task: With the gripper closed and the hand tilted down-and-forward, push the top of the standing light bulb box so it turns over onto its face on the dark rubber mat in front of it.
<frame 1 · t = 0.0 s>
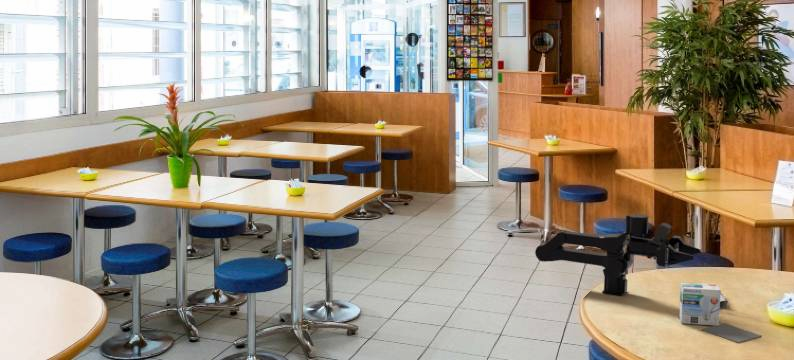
hand: (697, 254, 242), 17 cm above the table, tool horizontal, fingers open, 9 cm apart
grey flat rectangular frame: (708, 303, 249), on the table
rubber mat: (731, 333, 220), on the table
light bulb box: (698, 322, 229), on the table, touching rubber mat
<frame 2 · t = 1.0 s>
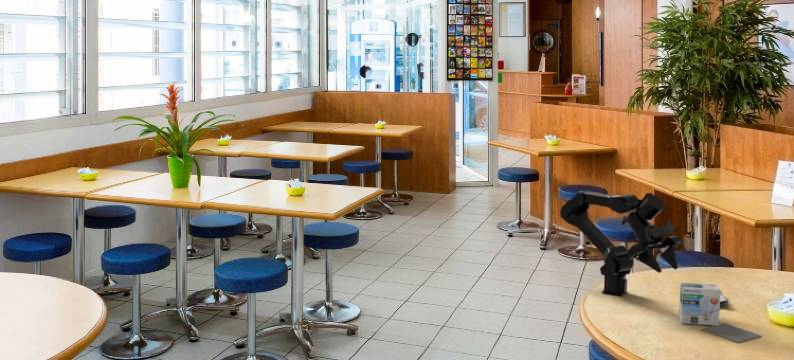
hand: (668, 270, 238), 13 cm above the table, tool tilted 45°, fingers open, 7 cm apart
nothing on the table moved.
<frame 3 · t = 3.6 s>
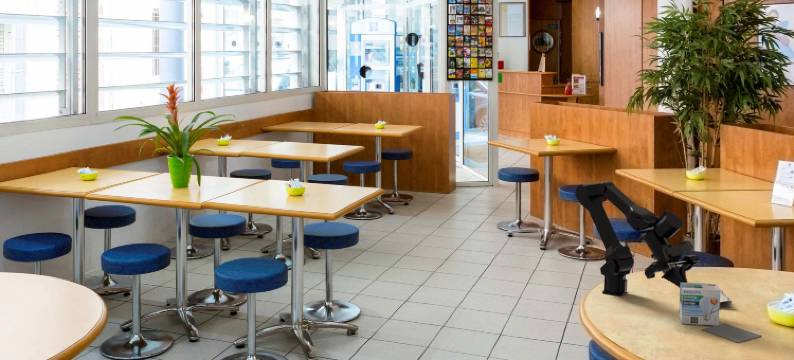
hand: (687, 290, 232), 8 cm above the table, tool tilted 45°, fingers closed
light bulb box: (698, 321, 229), on the table, touching gripper, rubber mat
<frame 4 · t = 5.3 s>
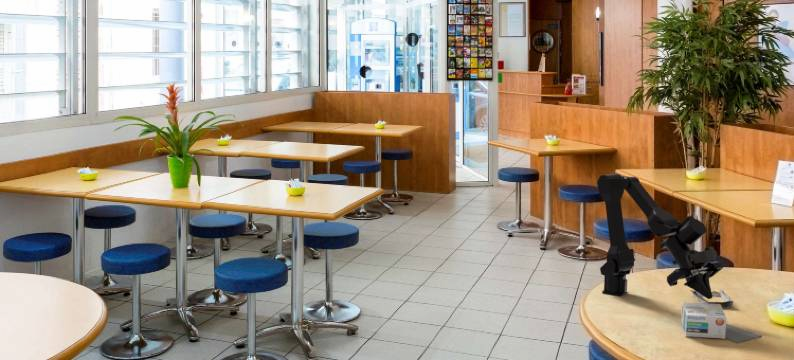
hand: (710, 298, 225), 8 cm above the table, tool tilted 45°, fingers closed
light bulb box: (700, 312, 226), point 4 cm above the table, touching rubber mat
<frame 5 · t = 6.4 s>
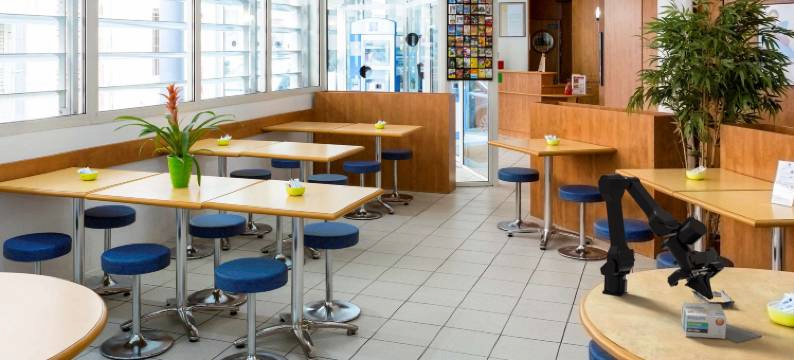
hand: (711, 299, 225), 8 cm above the table, tool tilted 45°, fingers closed
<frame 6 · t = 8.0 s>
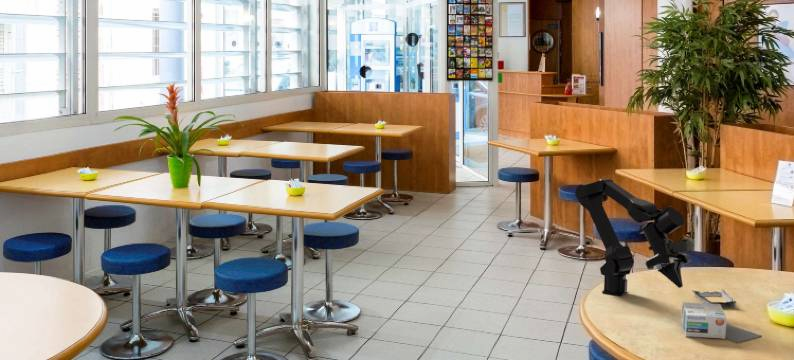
hand: (680, 287, 234), 9 cm above the table, tool tilted 35°, fingers closed
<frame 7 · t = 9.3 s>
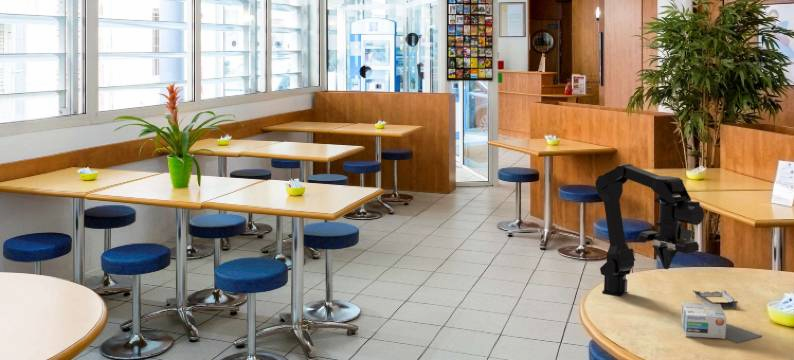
hand: (666, 268, 238), 13 cm above the table, tool pointing down, fingers closed
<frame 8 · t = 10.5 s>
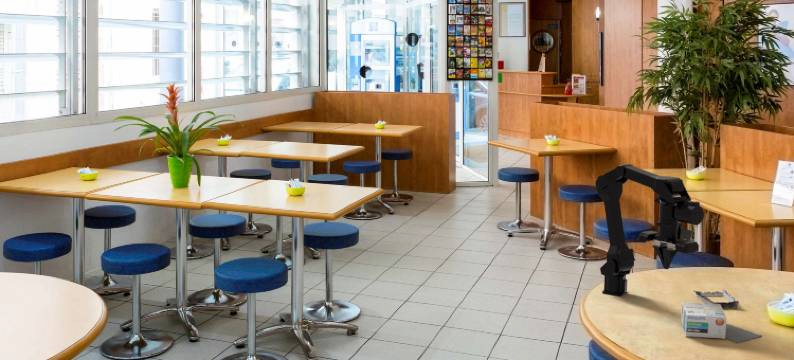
hand: (666, 269, 238), 13 cm above the table, tool pointing down, fingers closed
at the end: light bulb box tilted 93°; light bulb box moved 5.1 cm from its start; light bulb box 9.0 cm from the rubber mat (horizontally) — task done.
